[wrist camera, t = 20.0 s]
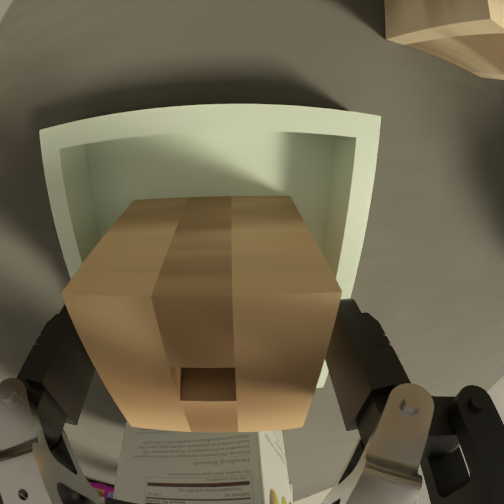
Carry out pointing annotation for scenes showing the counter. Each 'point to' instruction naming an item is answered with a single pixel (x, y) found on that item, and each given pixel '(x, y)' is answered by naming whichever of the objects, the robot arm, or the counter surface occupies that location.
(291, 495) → the skyscraper
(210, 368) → the oak block narrow bore
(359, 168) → the tray
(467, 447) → the robot arm
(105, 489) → the candy bar box
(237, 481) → the supplement box
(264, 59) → the counter surface
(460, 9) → the beech block wide bore
